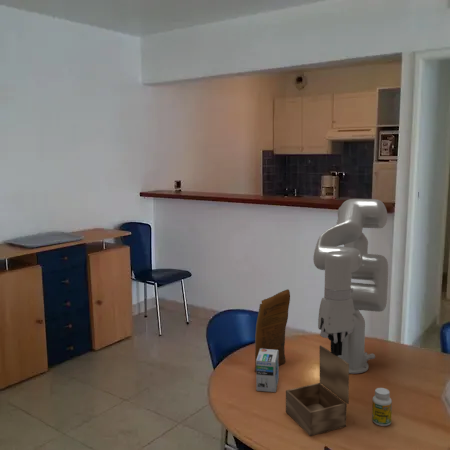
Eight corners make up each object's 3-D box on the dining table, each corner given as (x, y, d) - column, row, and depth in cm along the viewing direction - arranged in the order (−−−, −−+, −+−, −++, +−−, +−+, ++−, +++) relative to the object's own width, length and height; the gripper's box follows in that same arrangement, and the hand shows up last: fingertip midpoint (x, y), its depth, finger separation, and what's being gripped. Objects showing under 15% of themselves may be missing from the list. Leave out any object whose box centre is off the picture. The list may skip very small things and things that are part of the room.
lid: (319, 382, 153) (321, 382, 153) (347, 403, 140) (348, 403, 140) (319, 345, 151) (321, 345, 151) (347, 363, 138) (349, 363, 138)
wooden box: (319, 403, 154) (319, 382, 153) (346, 426, 141) (346, 403, 140) (285, 411, 150) (285, 390, 149) (310, 436, 137) (310, 412, 136)
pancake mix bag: (295, 361, 185) (296, 289, 181) (261, 377, 172) (260, 300, 168) (282, 356, 190) (282, 286, 186) (247, 371, 177) (246, 296, 173)
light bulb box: (276, 393, 161) (275, 362, 160) (255, 391, 163) (255, 360, 161) (279, 378, 172) (279, 349, 170) (260, 376, 173) (259, 347, 172)
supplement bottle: (391, 418, 145) (392, 387, 144) (391, 427, 140) (392, 396, 139) (372, 415, 147) (373, 385, 145) (371, 425, 142) (372, 394, 140)
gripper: (350, 288, 149) (349, 345, 151) (308, 293, 143) (307, 353, 146) (366, 294, 142) (365, 354, 144) (322, 300, 136) (321, 362, 139)
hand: (336, 353), depth 145 cm, fingers closed
